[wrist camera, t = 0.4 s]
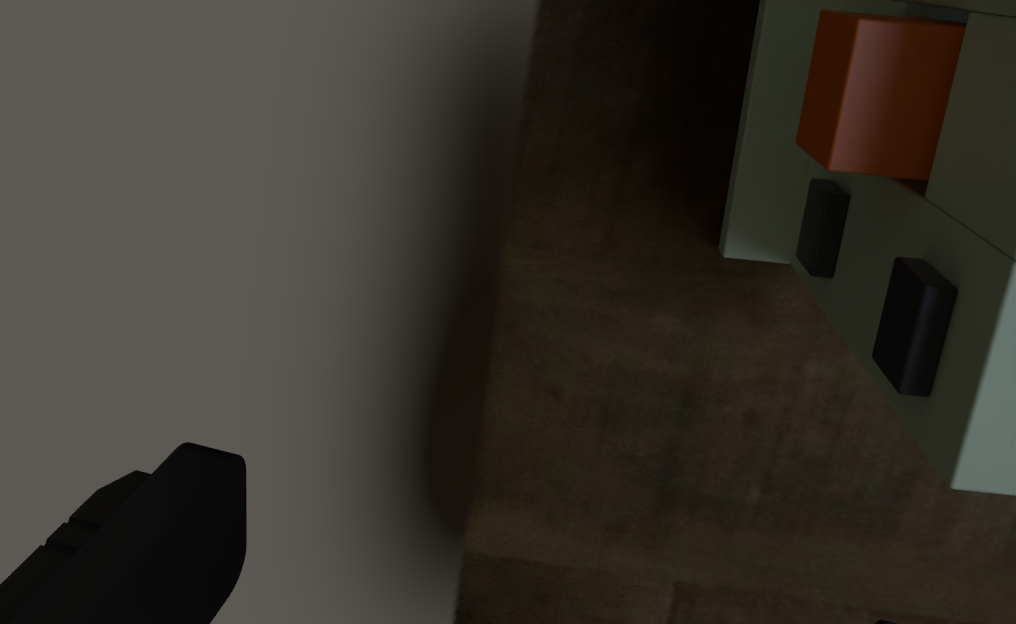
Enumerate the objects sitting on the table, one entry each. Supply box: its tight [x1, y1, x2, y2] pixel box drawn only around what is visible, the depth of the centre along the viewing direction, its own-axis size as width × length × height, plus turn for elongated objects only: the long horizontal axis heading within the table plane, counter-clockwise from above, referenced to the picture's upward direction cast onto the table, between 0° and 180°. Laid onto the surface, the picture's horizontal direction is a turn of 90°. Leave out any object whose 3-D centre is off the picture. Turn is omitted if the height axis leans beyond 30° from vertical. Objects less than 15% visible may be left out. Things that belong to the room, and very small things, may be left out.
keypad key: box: [795, 9, 967, 181], centre depth 20 cm, size 3×3×3 cm
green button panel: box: [719, 0, 1016, 495], centre depth 21 cm, size 6×12×14 cm, turn 175°
